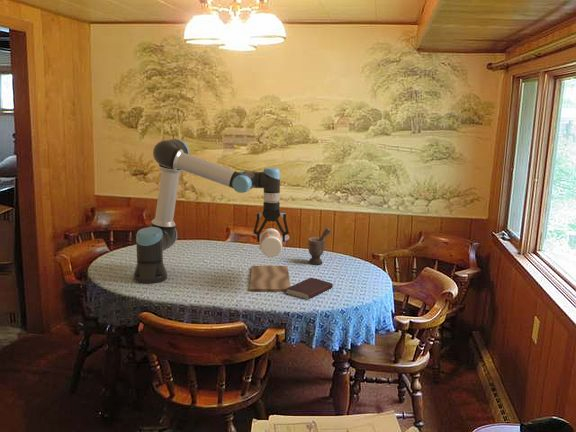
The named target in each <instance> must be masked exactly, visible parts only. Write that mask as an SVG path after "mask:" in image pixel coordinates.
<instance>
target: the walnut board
mask: <svg viewBox="0 0 576 432" xmlns="http://www.w3.org/2000/svg"><path fill="white" fill-rule="evenodd" d="M290 286H291V280H290V274H289V268H288V265H251V275H250V290H249V291H250V292H252V293H253V292H255V293H256V292H257V293H259V292H260V293H262V292H263V293H264V292H268V293H269V292H270V293H274V292H275V293H278V292H280V293H282V292H283V293H287V288H288V287H290Z"/></svg>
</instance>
